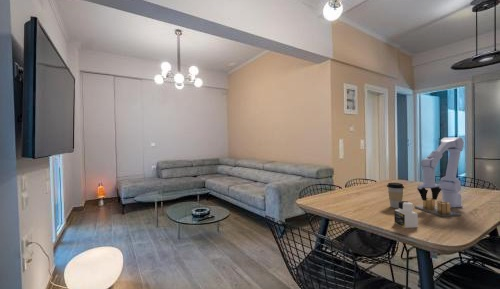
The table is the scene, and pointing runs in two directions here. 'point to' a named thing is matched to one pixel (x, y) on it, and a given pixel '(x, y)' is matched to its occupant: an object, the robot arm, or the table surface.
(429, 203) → the tan wooden cube
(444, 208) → the block
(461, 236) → the table surface
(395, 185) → the coffee cup
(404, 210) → the medicine bottle
